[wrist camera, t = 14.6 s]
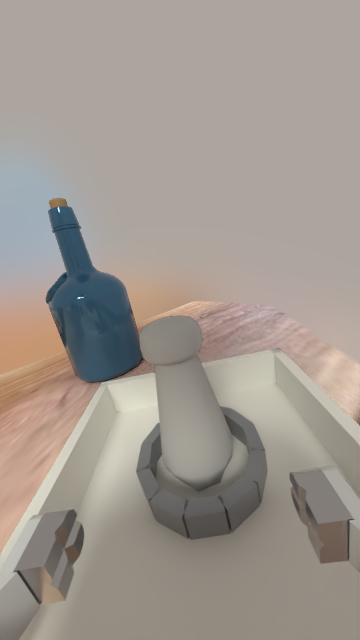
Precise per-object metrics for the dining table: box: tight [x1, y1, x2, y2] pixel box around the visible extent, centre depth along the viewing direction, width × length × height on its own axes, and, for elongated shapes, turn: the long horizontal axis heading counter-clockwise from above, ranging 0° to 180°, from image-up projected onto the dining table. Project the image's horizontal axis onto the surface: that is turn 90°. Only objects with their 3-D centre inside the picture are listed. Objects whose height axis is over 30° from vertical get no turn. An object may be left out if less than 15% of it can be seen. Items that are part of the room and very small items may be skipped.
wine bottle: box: [46, 198, 143, 382], centre depth 40 cm, size 14×13×30 cm
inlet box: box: [0, 348, 360, 640], centre depth 19 cm, size 20×22×5 cm
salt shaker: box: [139, 316, 233, 491], centre depth 17 cm, size 6×6×13 cm
